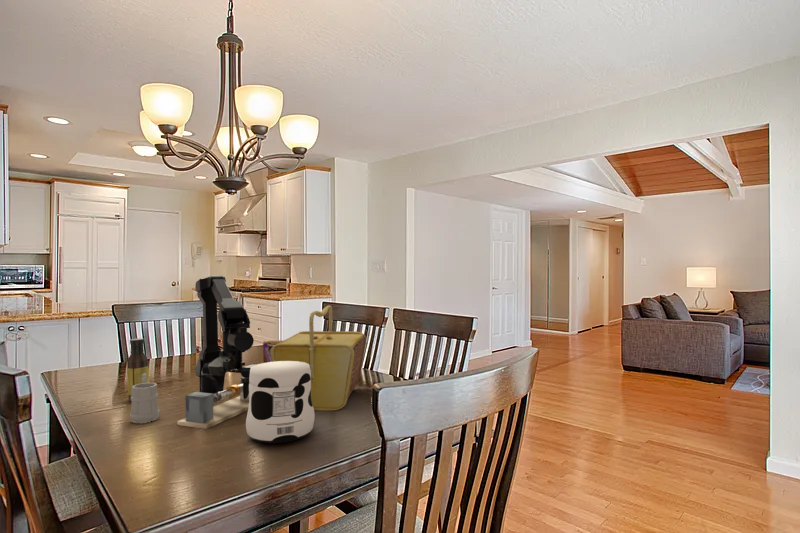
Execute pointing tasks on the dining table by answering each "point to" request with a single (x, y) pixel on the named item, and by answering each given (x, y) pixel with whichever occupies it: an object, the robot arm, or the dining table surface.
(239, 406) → the board
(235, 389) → the tube
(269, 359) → the candy box
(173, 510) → the dining table surface
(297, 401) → the milk container
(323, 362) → the picnic basket
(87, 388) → the dining table surface
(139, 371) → the sauce bottle
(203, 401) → the socket
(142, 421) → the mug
